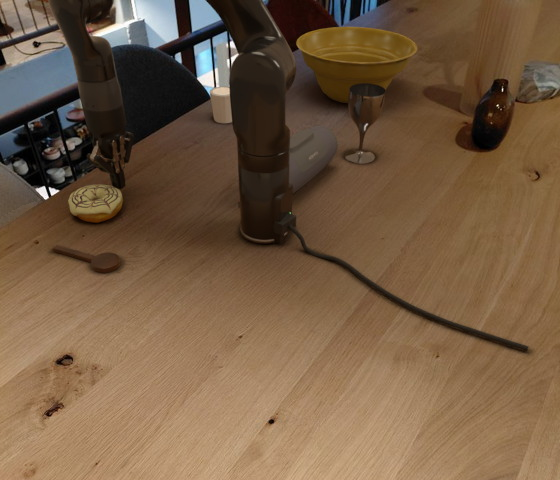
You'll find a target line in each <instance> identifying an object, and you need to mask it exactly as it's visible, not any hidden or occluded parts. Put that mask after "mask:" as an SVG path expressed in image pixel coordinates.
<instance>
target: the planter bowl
mask: <svg viewBox="0 0 560 480" xmlns="http://www.w3.org/2000/svg"><path fill="white" fill-rule="evenodd" d="M295 44H296V47H297V48H298V50H300V51H301V55H302V59H303V61H304V64H306V66H307V67H308V68H309V69H311V71H313V74H314V76H315V78H316V81H317V83H318V85H319V88H320V90H321V91H322V92H323V94H325V95H326V96H327V97H328V98H330V99H331V100H333V101H336V102H339V103H345V104H348V98H349V88H350V87H351V86H353V85H355V84H361V83H369V84H376V85H379V86H381V87H383V88H384V89H385V90H386V89H388V87H389V85H390V84H391V83H392V80H393V79H394V77H395V76H396V75H398V74H399V73H402V71H403V70H405V68H406V67H407V66H408V64H409V62H410V60H411V58H412V56H414V55H415V54H416V52H417V51H418V45H417V43H415V41H413V40H412V39H410V38H409V37H408V36H405V35H403V34H400V33H398V32H393V31H390V30H386V29H381V28H373V27H361V26H336V27H335V26H334V27H326V28H319V29H316V30H312V31H308V32H306V33H304V34H302V35H300V36H299V37H298V38H297V40H296V42H295Z"/></svg>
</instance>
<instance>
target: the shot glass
mask: <svg viewBox="0 0 560 480" xmlns="http://www.w3.org/2000/svg"><path fill="white" fill-rule="evenodd" d="M209 98H210V103H211V109H212V116H213V121H214V122H216V123H218V124H232V115H231V103H230V89H229V86H216V87H213V88H211V89H210V90H209Z"/></svg>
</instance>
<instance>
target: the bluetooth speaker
mask: <svg viewBox="0 0 560 480" xmlns="http://www.w3.org/2000/svg"><path fill="white" fill-rule="evenodd" d="M338 143H339V142H338V139H337V137H336V134H335V133H334V132H333V130H332V129H330V128H329V127H327V126H325V125H320V124H317V125H314V126H311V127H309V128H303V129H301V130H298V131H297V132H295V133H294V134H293V135H290V162H289V183H290V184H293V194H295V193H296V192H298V191H300V189H302V188H303V187H304V186H306V185H307V184H308V183H309V182H310V181H311V180H313V179H314V178H315V177H316V176H317V175H318V174H320V172H321V171H323V169H325V167H327V166H328V165H329V164H330V163H331V162H332V160H333V159H334V158H335V156H336V155H337V152H338V148H339V144H338Z"/></svg>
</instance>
